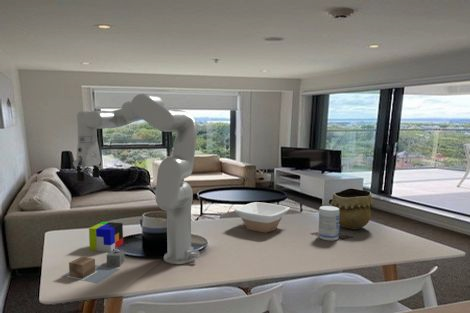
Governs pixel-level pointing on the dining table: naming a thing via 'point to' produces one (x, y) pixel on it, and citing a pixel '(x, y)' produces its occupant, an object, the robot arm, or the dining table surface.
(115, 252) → the grey cube
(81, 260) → the walnut block
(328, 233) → the supplement tub
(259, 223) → the bowl
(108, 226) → the puzzle toy
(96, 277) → the board
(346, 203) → the clay pot
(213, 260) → the dining table surface
